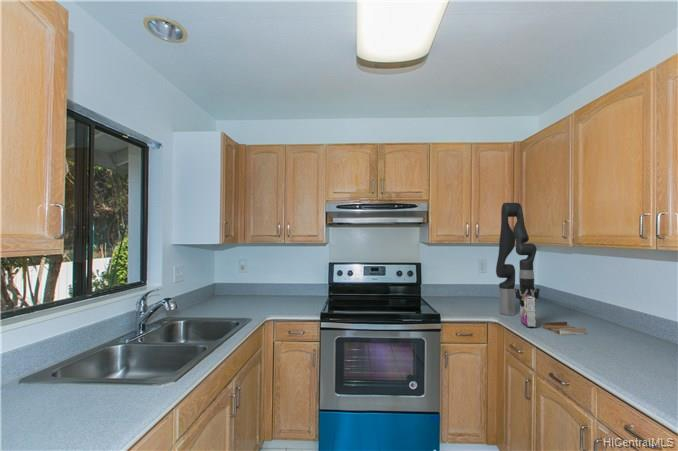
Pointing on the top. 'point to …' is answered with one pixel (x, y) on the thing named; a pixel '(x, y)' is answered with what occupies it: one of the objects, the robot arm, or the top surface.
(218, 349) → the top surface
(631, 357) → the top surface
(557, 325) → the shelf
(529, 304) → the candy bar box
